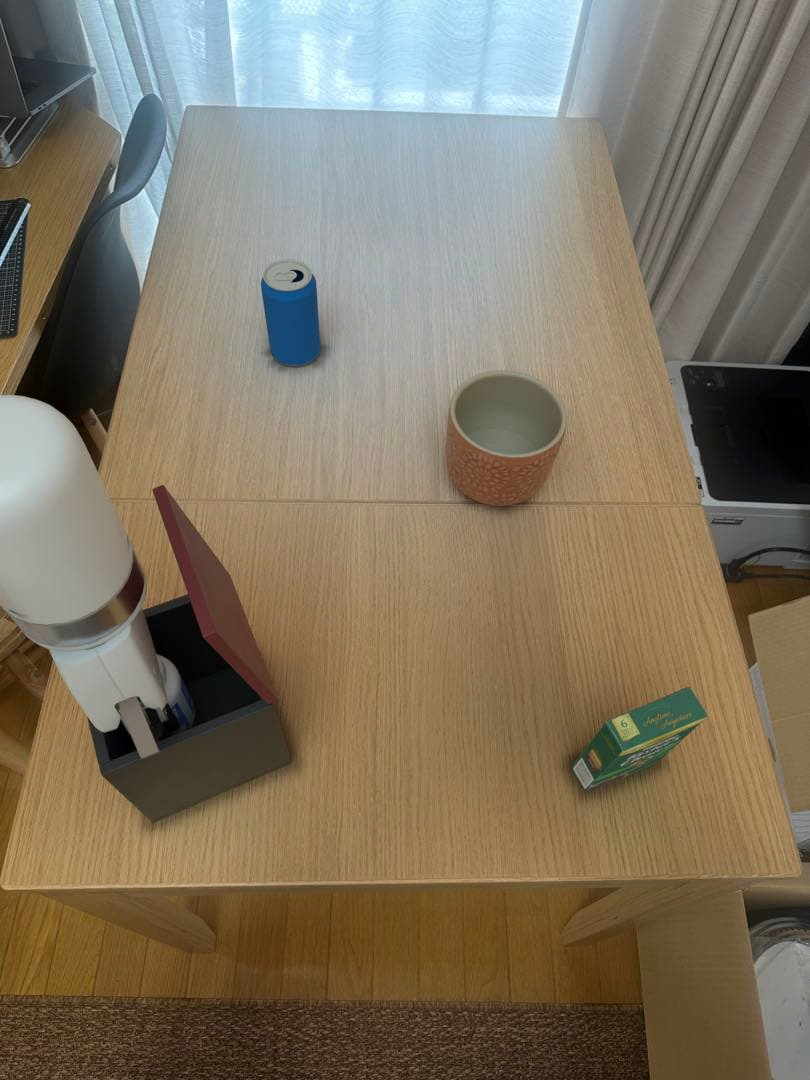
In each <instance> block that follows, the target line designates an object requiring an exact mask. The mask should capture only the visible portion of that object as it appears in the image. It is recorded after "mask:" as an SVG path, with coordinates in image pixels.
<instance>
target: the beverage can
mask: <svg viewBox="0 0 810 1080" xmlns="http://www.w3.org/2000/svg"><path fill="white" fill-rule="evenodd" d="M312 271H313V270H312V268H310V266H309V265H308V264H307V263H305V262H304V261H301V260H300V259H294V258H283V259H278V260H275V261H273V262H271V263H269V264H268V265H267V266H266V267H265V268H264V270H263V273H262V277H261V281H260V290H261V295H262V296H261V297H262V303H263V311H264V317H265V318H264V319H265V324H266V331H267V339H268V344H269V351H270V355H271V356H272V358H273V359H274V360H276V361H277V362H278V363H280V364H282V365H286V366H291V367H299V366H304V365H307V364H309V363H311V362H313V361H314V360H316V359H317V358H318V356H320V353H321V350H322V344H321V331H320V318H319V302H318V301H319V300H318V290H317V289H318V288H317V280H316V277H315V275H314V274H313V272H312Z"/></svg>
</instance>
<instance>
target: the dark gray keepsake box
mask: <svg viewBox="0 0 810 1080" xmlns="http://www.w3.org/2000/svg"><path fill="white" fill-rule="evenodd" d="M142 610H143V613H144V616H145V619H146V622H147V625H148V628H149V631H150V634H151V638H152V641H153V645H154V647H155V649H156V650H157V652H158V655H160V656H163V657H165V658H166V659H168V660H169V661H171V662H172V663H173V664H174V666H175V667H176V668H177V670H178V672H179V674H180V676H181V677H182V679H183V681H184V683H185V685H186V687H187V689H188V691H189V693H190V695H191V697H192V699H193V702H194V705H195V718H194V722H193V725H192V727H191V728H190V729H188V730H185V731H183V732H181V733H178V734H176V735H173V736H171V737H168V738H166V739H163V740H161V741H159V742H160V753H158V754H155V755H153V756H150V757H148V758H145V759H143V760H142V759H141V757H140V755H139V753H138V750H137V748H136V746H135V743H134V742H133V739H132V738H131V736H130V735H129V733H128V731H127V729H126V727H125V726H124V724H123V722H122V721H121V719H120V723H119V726H118V728H117V729H114V730H111V731H108V732H102V731H100V730H98V729H97V728H96V727H95V726H94V725H93V724H92V722H91V721H90V720H89V718H88V717H87V716H86V718H87V723H88V727H89V730H90V734H91V740H92V743H93V748H94V751H95V756H96V760H97V764H98V768H99V772H100V776H101V777H103V778H104V779H105V780H106V781H107V782H108V783H109V784H110V785H111V786H112V787H113V788H115V789H116V790H117V791H118V792H119V793H120V794H121V795H122V796H123V797H124V798H125V799H126V800H127V801H129V802H130V803H131V805H133V806H134V807H135V808H136V809H137V810H138V811H140V812H141V814H143V815H144V816H145V817H146V818H147V819H148V820H149V821H150V822H151V823H152V824H155V823H158V822H160V821H162V820H165V819H167V818H169V817H172V816H173V815H176V814H178V813H180V812H183V811H185V810H187V809H190V808H192V807H195V806H197V805H199V804H201V803H204V802H206V801H209V800H210V799H213V798H216V797H218V796H220V795H222V794H225V793H227V792H229V791H231V790H234V789H236V788H239V787H241V786H243V785H245V784H247V783H250V782H252V781H254V780H257V779H259V778H261V777H264V776H266V775H269V774H270V773H273V772H275V771H279V770H281V769H282V768H284V767H287V766H289V765H291V764H292V760H291V757H290V754H289V750H288V746H287V742H286V740H285V736H284V733H283V729H282V727H281V723H280V720H279V716H278V714H277V713H278V712H277V710H276V707H275V702H273V703H271V704H267V703H266V702H265V701H264V699H263V698H262V697H261V696H260V695H259V694H258V693H257V692H256V691H255V690H254V689H253V688H252V687H251V686H250V685H249V684H248V683H247V682H246V681H245V680H244V679H243V678H242V677H241V676H240V675H239V674H238V673H237V672H236V671H235V670H234V669H233V668H232V667H231V666H230V665H229V663H228V662H227V661H226V660H225V659H224V658H223V657H222V656H221V655H220V654H219V653H218V652H217V651H216V650H215V649H214V648H213V647H212V646H211V645H210V644H209V643H208V642H207V641H206V640H205V639H204V638H203V636H202V633H201V630H200V627H199V624H198V621H197V619H196V616H195V613H194V610H193V607H192V604H191V601H190V598H189V595H188V593H187V594H184V595H181V596H179V597H176V598H173V599H170V600H167V601H164V602H162V603H159V604H156V605H152V606H151V607H148V608H144V609H142Z"/></svg>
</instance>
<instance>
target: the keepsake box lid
mask: <svg viewBox="0 0 810 1080" xmlns="http://www.w3.org/2000/svg"><path fill="white" fill-rule="evenodd" d="M152 493H153V496H154V499H155V502H156V505H157V508H158V511H159V514H160V517H161V520H162V522H163V525H164V528H165V531H166V534H167V536H168V540H169V543H170V545H171V549H172V552H173V555H174V557H175V561H176V563H177V566H178V569H179V572H180V575H181V577H182V580H183V584H184V588H185V589H186V592H187V594H188V595H189V598H190V601H191V604H192V607H193V610H194V613H195V616H196V619H197V621H198V624H199V627H200V630H201V633H202V636H203V638H204V639H205V640H206V641H207V642H208V643H209V644H210V645H211V646H212V647H213V648H214V649H215V650H216V651H217V652H218V653H219V654H220V655H221V656H222V657H223V658H224V659H225V660H226V661H227V662H228V663H229V665H230V666H231V667H232V668H233V669H234V670H235V671H236V672H237V673H238V674H239V675H240V676H241V677H242V678H243V679H244V680H245V681H246V682H247V683H248V684H249V685H250V686H251V687H252V688H253V689H254V690H255V691H256V692H257V693H258V694H259V695H260V696H261V697H262V698H263V699H264V701H265V702H266V703H267V704H271V703H275V702H277V701H278V700H279V699H278V695H277V693H276V690H275V688H274V685H273V683H272V680H271V678H270V675H269V673H268V669H267V667H266V665H265V662H264V660H263V657H262V654H261V651H260V649H259V646H258V644H257V641H256V638H255V636H254V633H253V631H252V628H251V625H250V623H249V620H248V617H247V616H246V613H245V610H244V607H243V605H242V602H241V600H240V599H241V598H240V597H239V595H238V591H237V589H236V586H235V584H234V581H233V578H232V576H231V574H230V573H229V572H228V570H227V569H226V567H225V566H224V565H223V564H222V562H221V561H220V559H219V558H218V557H217V555H216V554H215V552H214V551H213V550H212V548H211V547H210V546H209V544H208V543H207V542H206V540H205V539H204V538H203V536H202V534H200V532H199V531H198V529H197V528H196V527H195V526H194V524H193V522H192V521H191V520H190V519H189V517H188V516H187V515H186V513H185V512H184V510H183V509H182V508H181V506H180V505H179V504H178V502H177V500H175V499H174V497H173V496H172V494H171V492H169V490H168V489H167V487H166V486H165V485H164V484H159V486H156V487H154V488H152Z"/></svg>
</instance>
